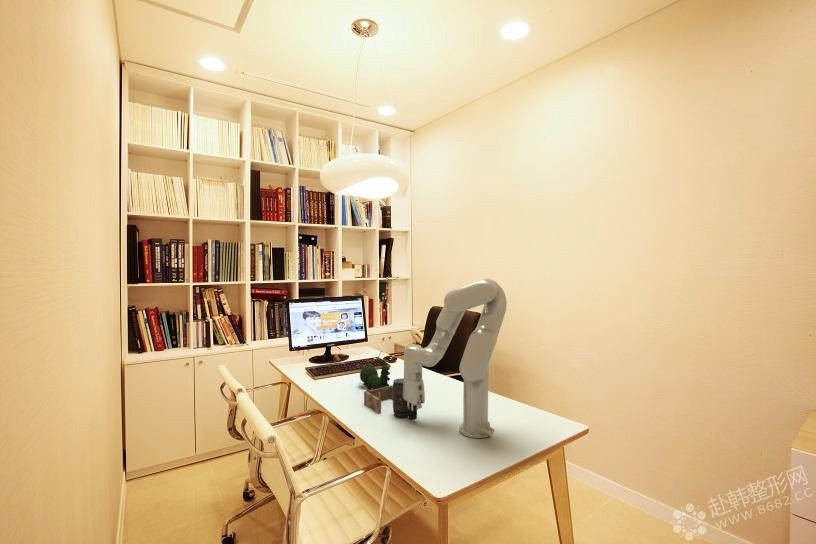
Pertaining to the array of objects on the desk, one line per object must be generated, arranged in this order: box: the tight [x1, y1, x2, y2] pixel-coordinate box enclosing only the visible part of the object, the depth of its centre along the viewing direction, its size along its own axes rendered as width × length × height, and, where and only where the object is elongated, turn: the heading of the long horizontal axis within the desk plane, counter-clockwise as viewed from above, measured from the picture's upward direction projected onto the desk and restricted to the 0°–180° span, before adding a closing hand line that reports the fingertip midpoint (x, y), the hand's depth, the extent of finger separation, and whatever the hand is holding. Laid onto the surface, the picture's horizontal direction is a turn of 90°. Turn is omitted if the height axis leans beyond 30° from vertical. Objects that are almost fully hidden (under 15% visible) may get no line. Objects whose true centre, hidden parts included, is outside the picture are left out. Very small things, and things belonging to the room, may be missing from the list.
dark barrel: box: [392, 378, 409, 419], centre depth 161 cm, size 8×8×15 cm
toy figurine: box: [359, 358, 391, 391], centre depth 193 cm, size 9×19×25 cm
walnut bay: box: [363, 384, 393, 415], centre depth 172 cm, size 13×15×9 cm
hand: (412, 418), depth 155 cm, fingers closed
